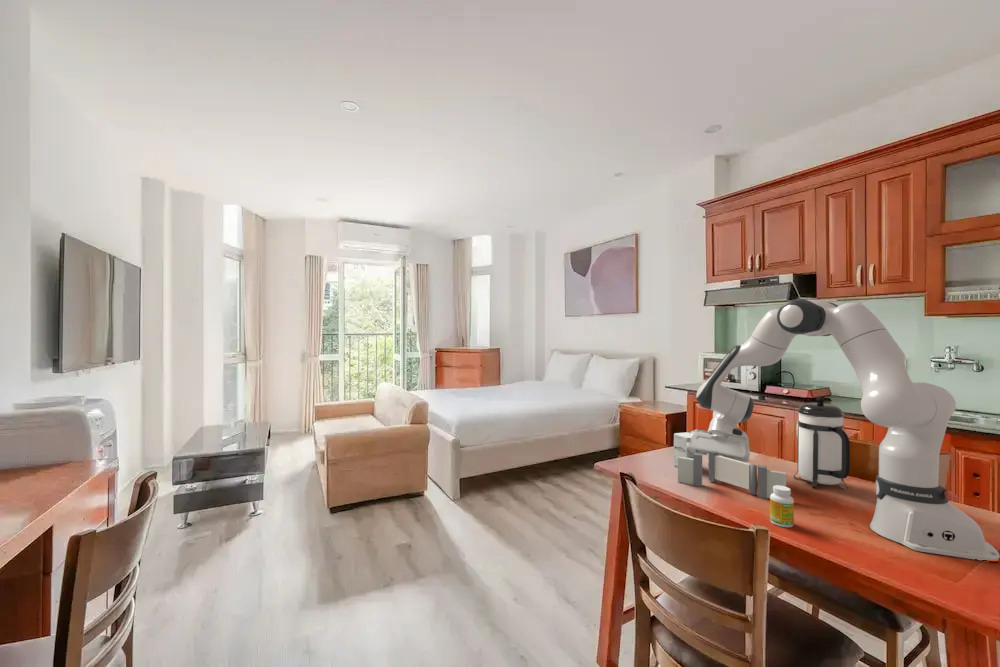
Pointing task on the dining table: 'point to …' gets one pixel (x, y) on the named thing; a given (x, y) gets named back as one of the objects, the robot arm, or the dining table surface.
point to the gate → (732, 472)
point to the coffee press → (822, 444)
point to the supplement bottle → (781, 506)
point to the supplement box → (681, 446)
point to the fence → (693, 475)
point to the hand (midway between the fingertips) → (712, 466)
